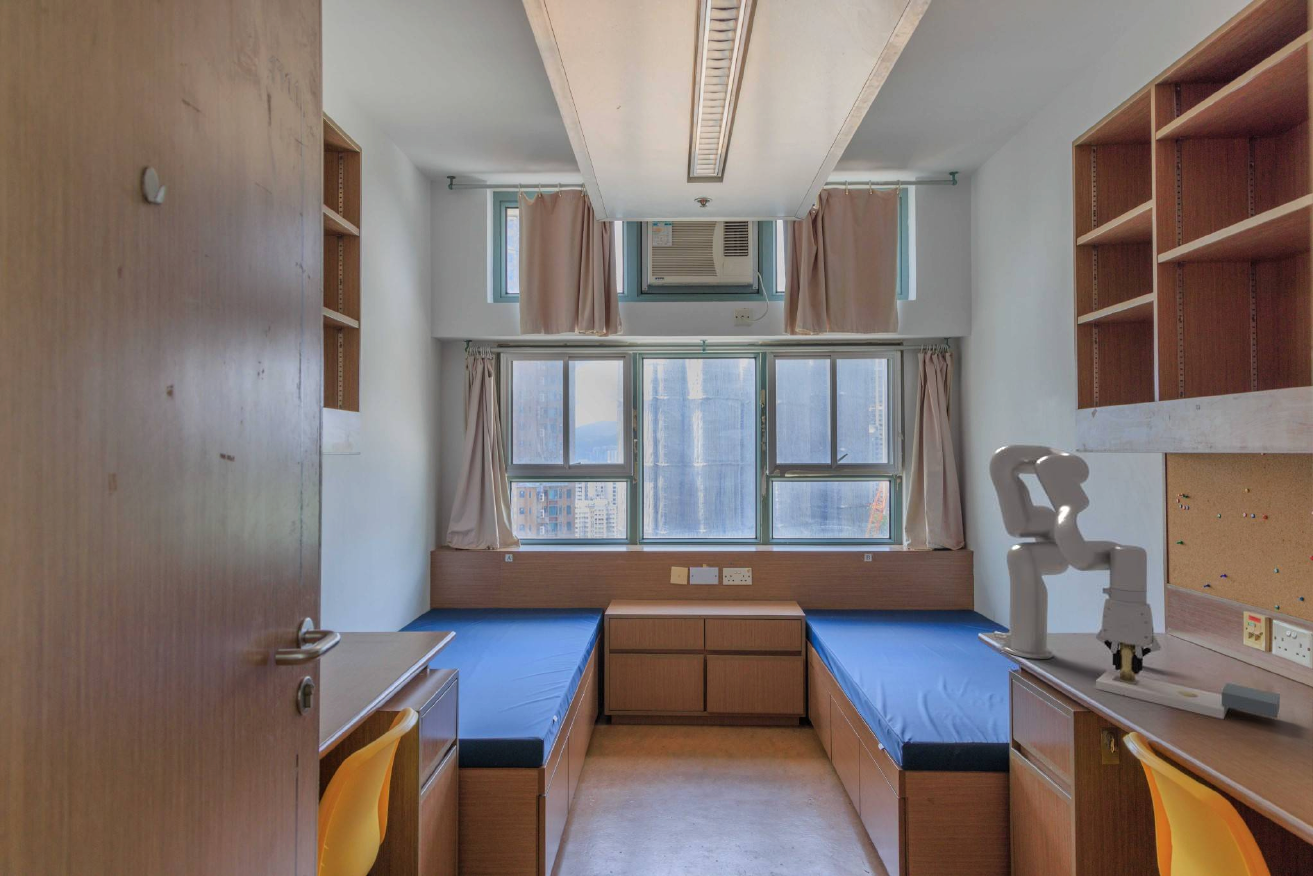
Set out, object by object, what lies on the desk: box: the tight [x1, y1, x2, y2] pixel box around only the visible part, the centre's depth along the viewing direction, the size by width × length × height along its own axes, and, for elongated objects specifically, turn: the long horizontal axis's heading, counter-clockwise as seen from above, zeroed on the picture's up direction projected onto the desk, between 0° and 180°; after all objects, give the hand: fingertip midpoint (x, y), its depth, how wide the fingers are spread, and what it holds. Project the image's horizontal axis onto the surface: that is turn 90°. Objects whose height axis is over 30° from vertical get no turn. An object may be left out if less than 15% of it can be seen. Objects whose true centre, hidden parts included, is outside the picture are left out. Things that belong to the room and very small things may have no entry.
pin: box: [1119, 643, 1136, 682], centre depth 165 cm, size 3×3×9 cm
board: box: [1095, 669, 1230, 720], centre depth 160 cm, size 24×12×2 cm, turn 44°
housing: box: [1221, 682, 1281, 719], centre depth 148 cm, size 9×9×3 cm
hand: (1127, 670), depth 165 cm, fingers closed on pin, 3 cm apart
